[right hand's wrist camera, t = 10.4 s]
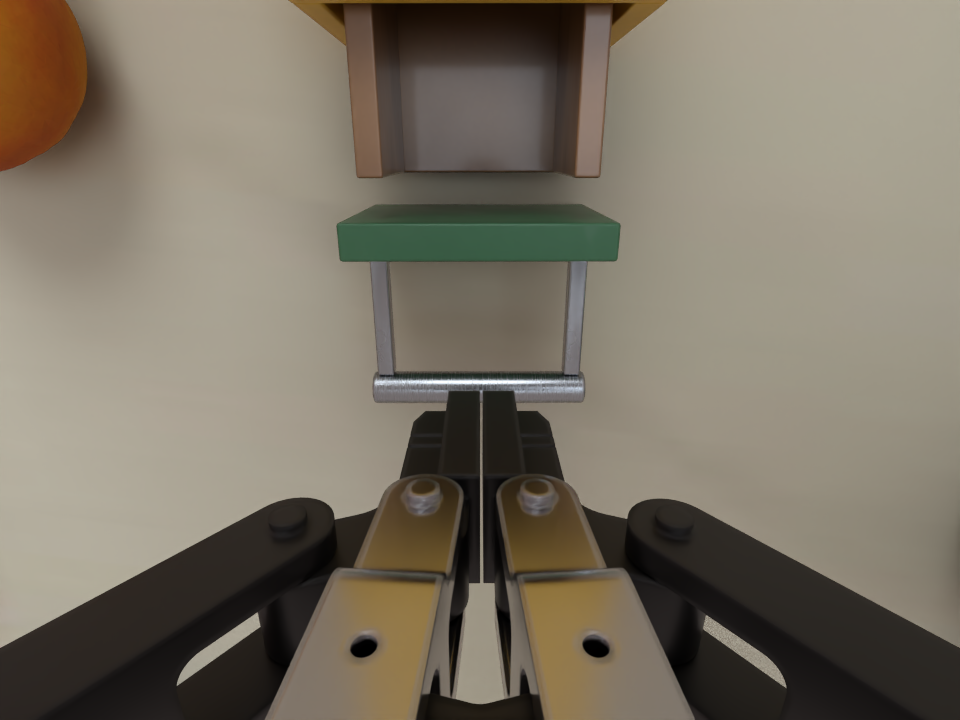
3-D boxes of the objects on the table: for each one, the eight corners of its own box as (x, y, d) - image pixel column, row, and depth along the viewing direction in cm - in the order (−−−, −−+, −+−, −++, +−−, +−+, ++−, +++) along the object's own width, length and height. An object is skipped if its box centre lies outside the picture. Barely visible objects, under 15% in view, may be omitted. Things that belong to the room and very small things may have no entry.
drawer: (573, 357, 25) (603, 422, 19) (384, 357, 25) (354, 422, 19) (606, -131, 18) (667, -266, 12) (350, -130, 18) (288, -266, 12)
